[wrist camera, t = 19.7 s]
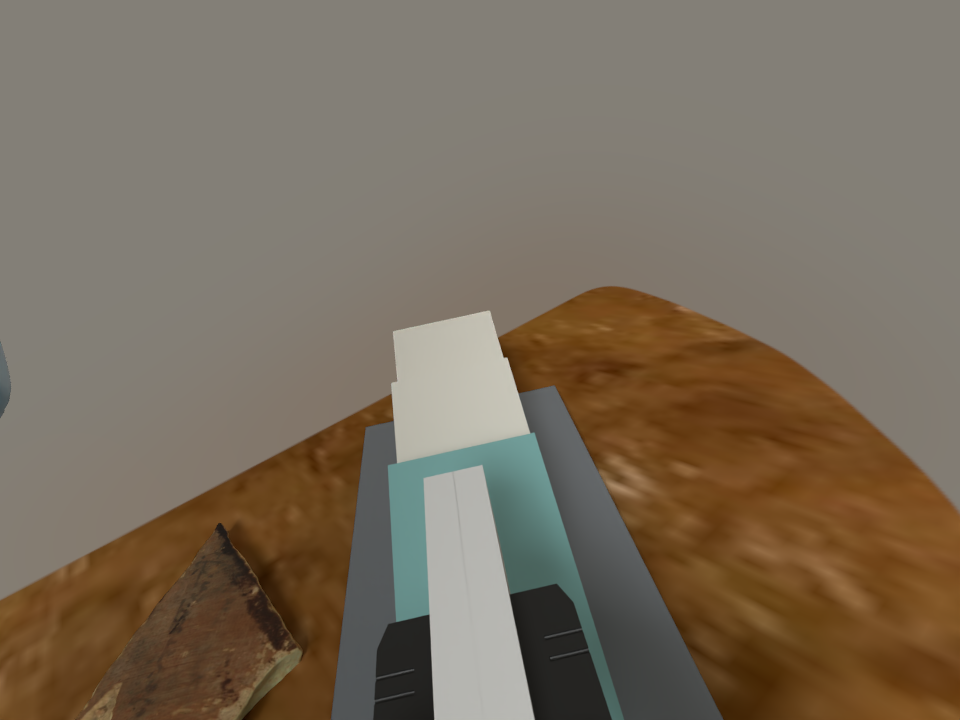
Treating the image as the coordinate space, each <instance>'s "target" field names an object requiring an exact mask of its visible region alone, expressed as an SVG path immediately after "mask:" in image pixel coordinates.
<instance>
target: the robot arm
mask: <svg viewBox="0 0 960 720" xmlns="http://www.w3.org/2000/svg"><path fill="white" fill-rule="evenodd" d="M10 392H11V382H10V375H9V371H8V366H7V362H6V359H5V355H4V351H3V348H2V345H1V342H0V417H1V416H2V414H3V413H4V409H5V407H6V406H7V404H8V402H9V397H10ZM423 479H424V501H425V523H426V546H427V568H428V590H429V612H430V614H429V615H425V616H420V617H416V618H412V619H407V620H403V621H399V622H394V623H390V624H388V625H387V628H386V630H385V632H384V634H383V637H382V639H381V641H380V644H379V646H378V648H377V657H376V682H375V696H374V700H375V705H374V715H373V720H612V718H611V715H610V712H609V709H608V706H607V703H606V700H605V697H604V693H603V690H602V687H601V684H600V681H599V678H598V675H597V672H596V669H595V666H594V663H593V660H592V657H591V654H590V652H589V648H588V645H587V642H586V639H585V636H584V632H583V630H582V626H581V623H580V620H579V617H578V614H577V611H576V608H575V605H574V602H573V601H572V600H571V599H570V598H569V597H568V595H567V594H566V593H565V592H564V591H563V590H562V589H561V588H560V586H559V585H558V584H552V585H548V586H544V587H539V588H535V589H531V590H526V591H522V592H518V593H513V594H510V589H509V584H508V579H507V574H506V569H505V565H504V560H503V555H502V550H501V545H500V541H499V536H498V532H497V528H496V523H495V519H494V514H493V510H492V505H491V501H490V496H489V492H488V487H487V483H486V479H485V474H484V470H483V465H480V466H475V467H471V468H466V469H462V470H457V471H453V472H448V473H444V474H440V475H435V476H431V477H426V478H423Z"/></svg>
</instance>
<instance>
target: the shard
mask: <svg viewBox="0 0 960 720" xmlns="http://www.w3.org/2000/svg"><path fill="white" fill-rule="evenodd" d="M228 536H229V532H228V531H227V530H226V528H225V527H224V526H223V525H222V524H221V523H219V524H218V525H217V527H216V529H215V531H214V532H213V534H212V536H211V537H210V538H209V539H208V540H207V541H206V543H205V544H204V546H203V547H202V548H201V549H200V550H199V552H198V553H197V555H196V556H195V558H194V561H193V562H192V564H191V565H190V566H189V567H188V568H187V570H186V571H185V572H184V573H183V575H182V576H181V578H179V579H178V581H177V582H176V583H175V584H174V585H173V586H172V588H171V589H170V590H169V591H168V592H167V593H166V594H165V595H164V597H163V598H162V599H161V600H160V602H159V603H158V604H157V605H156V607H155V608H154V610H153V611H152V613H151V614H150V615H149V617H148V618H147V620H146V621H145V623H144V624H142V625H141V627H140V628H139V629H138V630H137V631H136V632H135V634H134V635H133V637H132V638H131V640H130V641H129V642H128V644H127V645H126V647H125V648H124V650H123V652H122V653H121V654H120V656H119V657H118V658H117V660H116V661H115V662H114V663H113V664H112V665H111V667H110V668H109V670H108V671H107V672H106V674H105V675H104V677H103V679H102V680H101V682H100V683H99V684H98V686H97V687H96V689H95V691H94V693H93V696H92V698H91V699H90V700H89V702H88V703H87V704H86V706H85V707H84V709H83V710H82V711H81V712H80V714H79V716H78V717H77V718H76V719H75V720H242V719H243V718H244V717H245V715H246V714H247V713H248V712H249V711H250V710H251V709H252V708H253V707H254V706H255V705H256V703H257V702H258V701H259V700H260V699H261V698H263V697H264V696H265V695H266V694H267V692H269V691H270V690H271V689H272V688H273V687H274V686H275V685H276V684H277V683H279V682H280V681H281V680H282V679H283V678H284V676H285V675H286V674H287V673H289V672H290V671H291V670H292V669H293V668H294V667H295V666H296V665H297V664H298V663H300V661H301V656H302V653H303V651H302V648H301V647H300V645H299V644H298V642H296V641H295V640H294V639H293V637H292V635H291V633H290V632H289V631H288V630H287V628H286V626H285V624H284V622H283V620H282V618H281V616H280V615H279V613H278V612H277V611H276V609H275V608H274V606H273V605H272V604H271V601H270V599H269V598H268V596H267V595H266V593H265V592H264V591H263V589H262V588H261V585H260V584H259V581H258V577H257V576H256V575H255V574H254V573H253V571H252V569H251V567H250V566H249V564H248V562H247V561H246V559H245V558H244V557H243V556H242V555H241V554H240V552H239V551H238V550H237V549H235V548H234V546H233V544H232V543H231V540H230V539H229V537H228Z"/></svg>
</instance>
